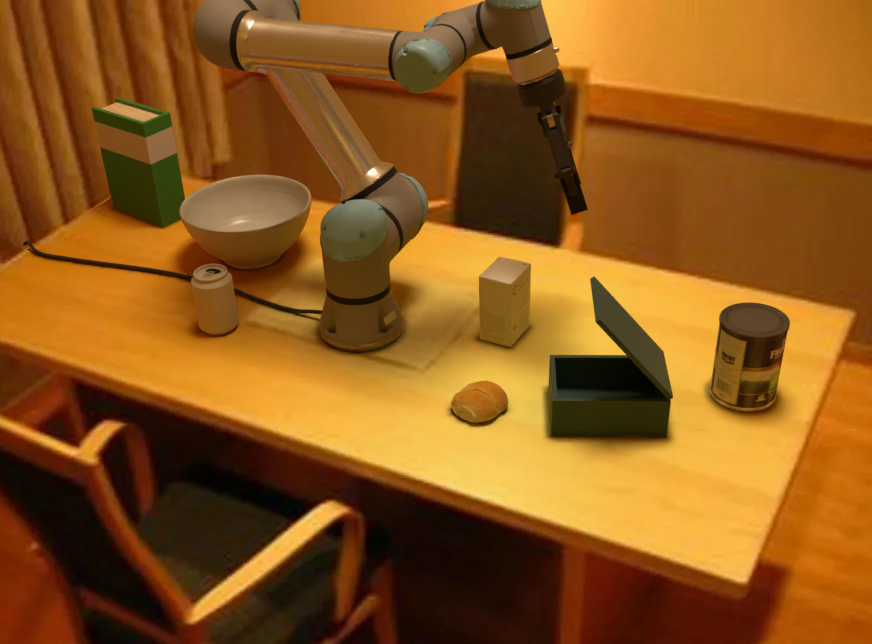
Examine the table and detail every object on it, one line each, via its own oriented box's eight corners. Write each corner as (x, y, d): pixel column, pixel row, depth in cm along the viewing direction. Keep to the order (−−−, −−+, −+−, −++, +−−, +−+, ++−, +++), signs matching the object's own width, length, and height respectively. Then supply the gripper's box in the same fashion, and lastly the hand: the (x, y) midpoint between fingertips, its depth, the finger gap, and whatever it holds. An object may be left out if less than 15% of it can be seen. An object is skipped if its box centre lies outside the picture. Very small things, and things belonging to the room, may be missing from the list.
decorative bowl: (162, 264, 224) (151, 211, 217) (252, 215, 240) (245, 164, 233) (253, 300, 209) (244, 245, 202) (343, 245, 225) (338, 192, 218)
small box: (498, 318, 198) (499, 255, 190) (530, 326, 194) (532, 262, 187) (478, 339, 192) (477, 275, 185) (510, 348, 189) (511, 283, 182)
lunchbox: (550, 435, 168) (552, 400, 164) (548, 388, 178) (549, 354, 175) (666, 437, 166) (671, 401, 162) (657, 389, 176) (661, 355, 172)
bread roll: (516, 404, 176) (517, 384, 173) (482, 430, 171) (482, 410, 168) (476, 386, 181) (476, 366, 178) (442, 411, 175) (441, 391, 173)
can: (246, 320, 203) (238, 264, 196) (226, 340, 198) (217, 283, 191) (212, 313, 206) (203, 258, 199) (192, 333, 201) (181, 277, 194)
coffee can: (783, 384, 175) (797, 310, 167) (766, 418, 168) (780, 343, 160) (719, 368, 180) (730, 295, 172) (700, 401, 173) (710, 327, 165)
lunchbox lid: (595, 322, 156) (599, 319, 155) (589, 278, 166) (594, 275, 165) (669, 400, 162) (673, 397, 162) (659, 353, 172) (663, 351, 172)
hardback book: (113, 208, 248) (91, 108, 234) (138, 196, 252) (118, 97, 239) (162, 227, 238) (143, 124, 224) (188, 215, 242) (170, 112, 228)
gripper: (566, 85, 158) (606, 215, 166) (556, 52, 180) (591, 168, 188) (516, 103, 160) (558, 231, 168) (512, 68, 181) (550, 183, 190)
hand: (576, 198), depth 178 cm, fingers open, 13 cm apart
